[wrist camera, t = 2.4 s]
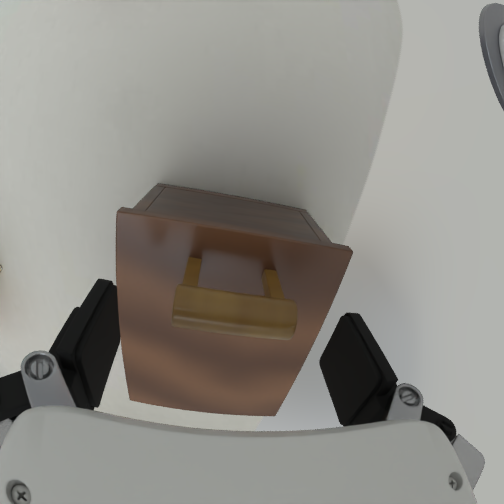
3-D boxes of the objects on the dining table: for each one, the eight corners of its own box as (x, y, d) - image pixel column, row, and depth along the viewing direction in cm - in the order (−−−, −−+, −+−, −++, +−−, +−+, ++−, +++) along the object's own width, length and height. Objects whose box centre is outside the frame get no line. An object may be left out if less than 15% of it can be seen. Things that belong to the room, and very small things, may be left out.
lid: (121, 206, 14) (75, 252, 9) (348, 245, 16) (392, 299, 11) (131, 393, 21) (120, 444, 16) (274, 409, 23) (282, 460, 18)
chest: (157, 182, 22) (120, 219, 14) (306, 209, 24) (343, 257, 16) (148, 328, 29) (131, 392, 21) (263, 343, 31) (274, 409, 23)
